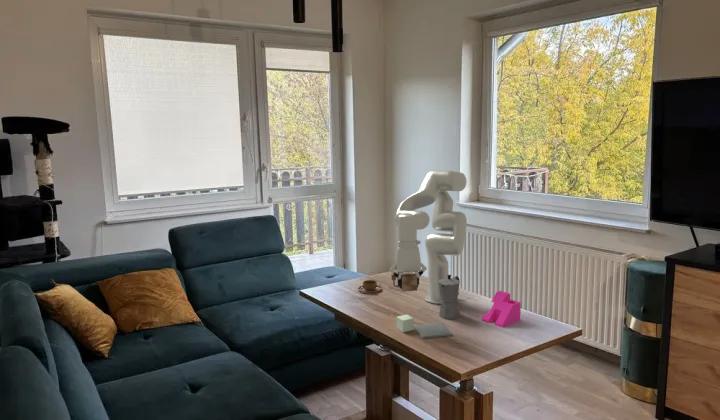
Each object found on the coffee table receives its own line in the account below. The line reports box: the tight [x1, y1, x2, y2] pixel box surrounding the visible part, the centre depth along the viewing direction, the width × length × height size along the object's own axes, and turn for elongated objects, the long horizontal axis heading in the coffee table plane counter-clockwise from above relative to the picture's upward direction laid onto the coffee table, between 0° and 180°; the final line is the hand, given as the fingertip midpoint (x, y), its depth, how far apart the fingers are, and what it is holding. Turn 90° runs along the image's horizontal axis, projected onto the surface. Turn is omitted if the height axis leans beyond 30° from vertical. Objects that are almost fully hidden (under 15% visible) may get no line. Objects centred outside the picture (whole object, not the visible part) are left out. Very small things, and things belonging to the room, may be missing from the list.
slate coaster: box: [414, 322, 453, 339], centre depth 207 cm, size 12×12×1 cm
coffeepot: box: [438, 274, 461, 320], centre depth 224 cm, size 15×9×18 cm, turn 144°
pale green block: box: [396, 314, 415, 333], centre depth 210 cm, size 5×5×5 cm
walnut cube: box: [400, 272, 418, 292], centre depth 214 cm, size 6×6×6 cm
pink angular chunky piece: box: [481, 290, 522, 328], centre depth 216 cm, size 12×10×10 cm
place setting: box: [357, 274, 397, 294], centre depth 262 cm, size 18×20×6 cm
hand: (408, 286), depth 214 cm, fingers closed on walnut cube, 6 cm apart
